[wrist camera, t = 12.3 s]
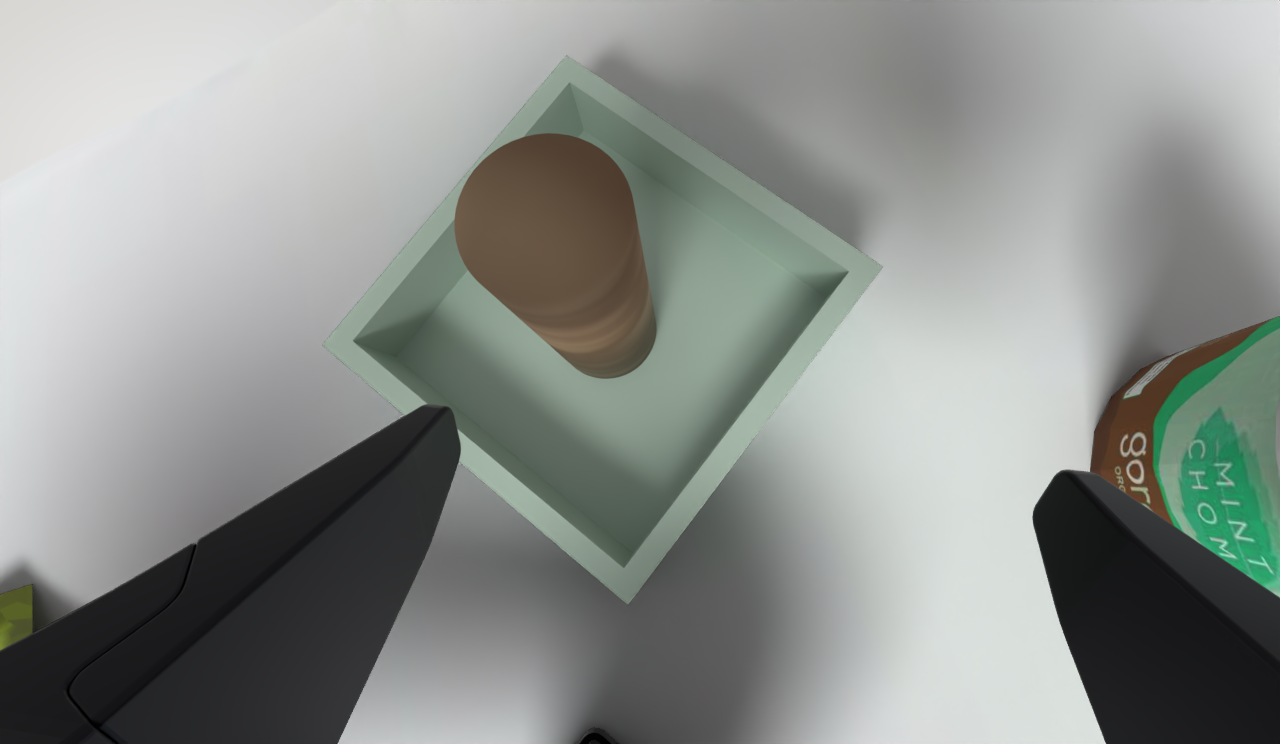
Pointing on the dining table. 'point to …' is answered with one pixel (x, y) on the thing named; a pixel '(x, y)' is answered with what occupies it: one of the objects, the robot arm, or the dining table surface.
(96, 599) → the robot arm
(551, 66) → the dining table surface
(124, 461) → the dining table surface
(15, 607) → the prepared meal
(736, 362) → the box
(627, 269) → the walnut handle
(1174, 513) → the food container
